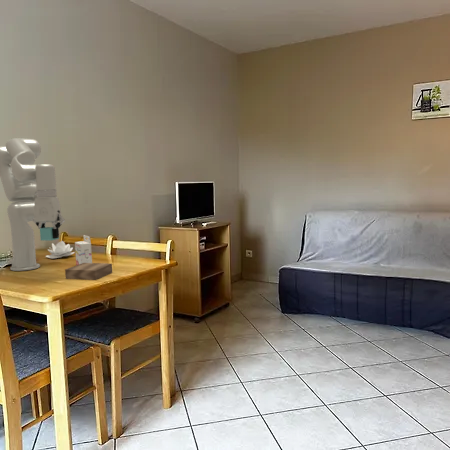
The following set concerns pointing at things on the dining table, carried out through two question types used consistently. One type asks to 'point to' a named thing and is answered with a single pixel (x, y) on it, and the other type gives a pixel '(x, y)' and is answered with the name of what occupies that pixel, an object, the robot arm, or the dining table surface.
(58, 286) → the dining table surface
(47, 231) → the teal cube
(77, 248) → the ink cartridge box
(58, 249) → the lotus flower
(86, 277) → the walnut base block
